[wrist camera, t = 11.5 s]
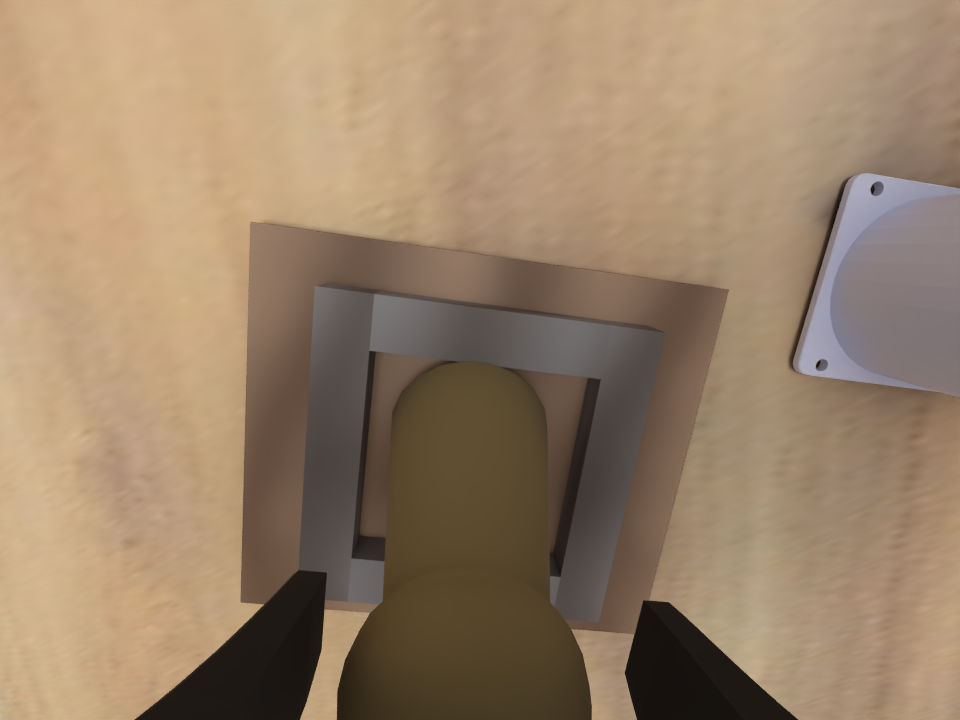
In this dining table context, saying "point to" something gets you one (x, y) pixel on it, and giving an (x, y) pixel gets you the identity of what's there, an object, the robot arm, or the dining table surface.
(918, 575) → the dining table surface
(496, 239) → the dining table surface
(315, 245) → the socket board
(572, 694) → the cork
